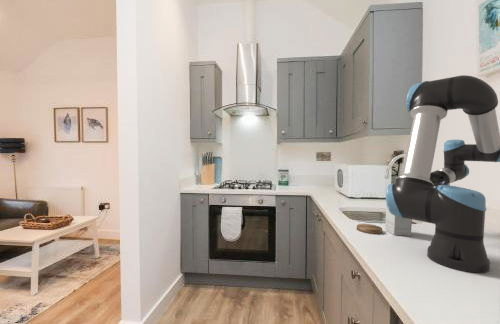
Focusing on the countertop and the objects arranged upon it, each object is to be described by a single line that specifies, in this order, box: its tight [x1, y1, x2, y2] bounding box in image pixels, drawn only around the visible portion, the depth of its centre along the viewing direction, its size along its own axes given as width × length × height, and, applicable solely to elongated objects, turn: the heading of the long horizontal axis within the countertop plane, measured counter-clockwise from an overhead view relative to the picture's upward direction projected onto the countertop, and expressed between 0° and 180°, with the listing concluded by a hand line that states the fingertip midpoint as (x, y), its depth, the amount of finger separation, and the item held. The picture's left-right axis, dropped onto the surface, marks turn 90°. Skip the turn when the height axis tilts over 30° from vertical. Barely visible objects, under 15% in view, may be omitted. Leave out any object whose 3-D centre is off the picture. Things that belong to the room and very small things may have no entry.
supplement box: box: [384, 204, 413, 237], centre depth 108 cm, size 7×7×13 cm
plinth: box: [356, 223, 383, 235], centre depth 110 cm, size 10×10×2 cm
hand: (408, 190), depth 110 cm, fingers open, 13 cm apart
